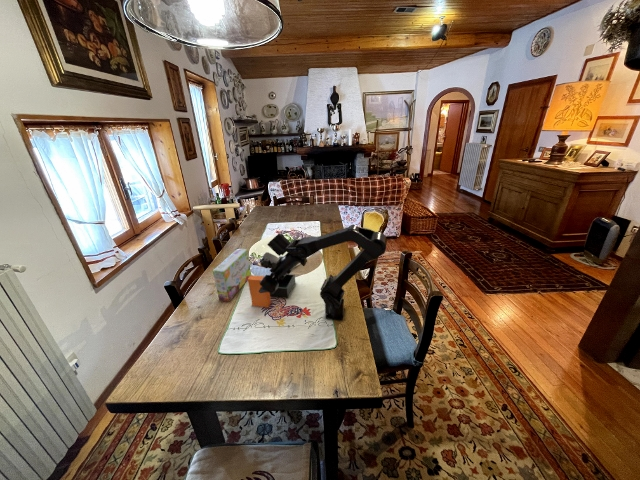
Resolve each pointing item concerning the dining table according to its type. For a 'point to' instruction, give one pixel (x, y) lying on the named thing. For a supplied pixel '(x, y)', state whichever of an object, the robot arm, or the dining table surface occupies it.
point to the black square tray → (284, 287)
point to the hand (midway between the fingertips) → (264, 285)
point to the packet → (257, 297)
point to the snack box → (232, 274)
